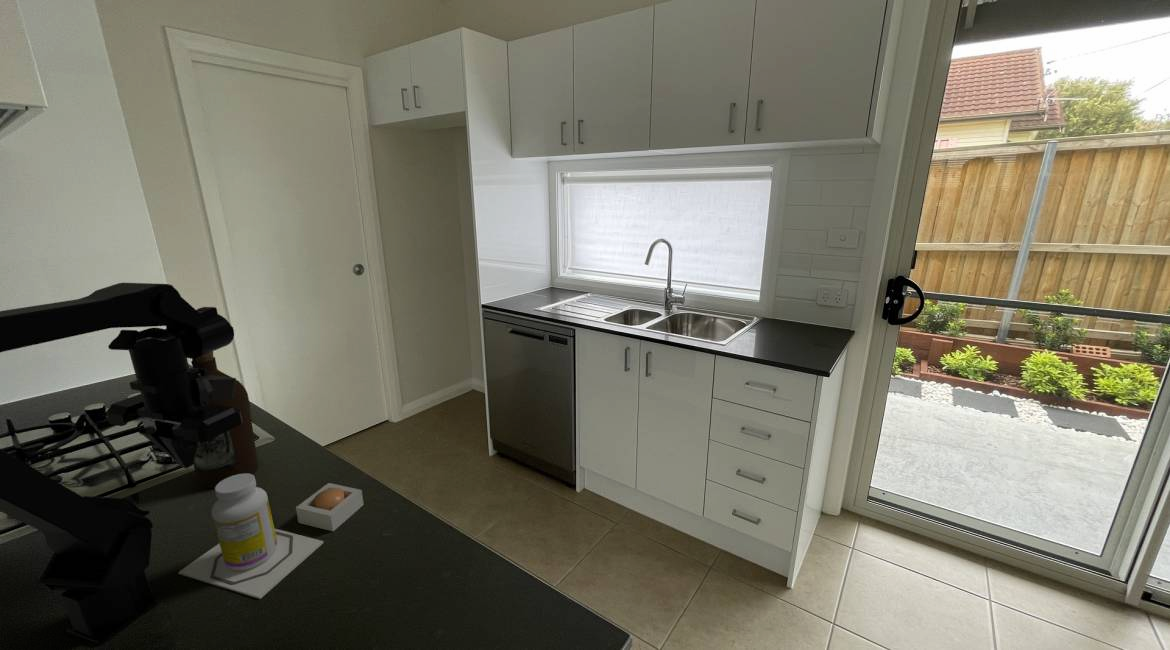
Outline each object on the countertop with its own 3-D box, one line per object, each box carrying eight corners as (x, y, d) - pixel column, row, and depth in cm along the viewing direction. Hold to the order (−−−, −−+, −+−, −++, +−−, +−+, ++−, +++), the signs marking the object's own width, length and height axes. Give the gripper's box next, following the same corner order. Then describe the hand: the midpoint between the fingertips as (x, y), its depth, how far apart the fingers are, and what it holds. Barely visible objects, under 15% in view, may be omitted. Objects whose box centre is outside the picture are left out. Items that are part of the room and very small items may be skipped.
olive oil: (212, 462, 95) (183, 344, 88) (271, 456, 98) (248, 341, 90) (182, 494, 85) (147, 365, 78) (248, 486, 88) (221, 360, 81)
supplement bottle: (249, 538, 75) (233, 467, 71) (288, 541, 74) (274, 470, 70) (213, 570, 68) (193, 495, 65) (255, 575, 68) (237, 499, 64)
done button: (331, 519, 78) (329, 506, 77) (310, 514, 79) (308, 501, 78) (351, 502, 82) (349, 490, 81) (330, 498, 83) (328, 485, 83)
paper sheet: (260, 599, 64) (259, 596, 64) (178, 573, 68) (178, 571, 68) (323, 542, 74) (323, 540, 74) (249, 523, 78) (249, 521, 78)
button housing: (333, 531, 77) (330, 515, 76) (298, 522, 79) (295, 507, 78) (363, 504, 83) (361, 490, 82) (331, 497, 85) (328, 482, 84)
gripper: (265, 358, 72) (283, 448, 76) (175, 345, 77) (196, 431, 81) (189, 387, 62) (214, 489, 66) (90, 370, 66) (120, 467, 71)
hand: (187, 466), depth 71 cm, fingers closed
